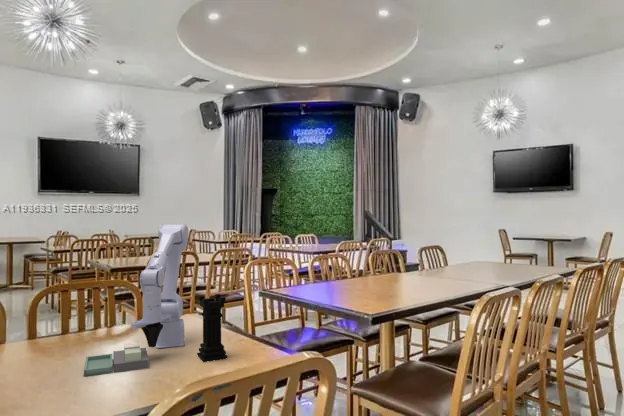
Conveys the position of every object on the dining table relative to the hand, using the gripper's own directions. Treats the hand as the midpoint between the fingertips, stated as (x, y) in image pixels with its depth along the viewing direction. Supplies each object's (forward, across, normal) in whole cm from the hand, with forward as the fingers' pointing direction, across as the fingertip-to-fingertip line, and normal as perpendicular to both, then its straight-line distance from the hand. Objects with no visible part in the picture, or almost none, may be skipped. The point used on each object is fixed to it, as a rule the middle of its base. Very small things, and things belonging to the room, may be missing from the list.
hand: (152, 346), depth 151 cm
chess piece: (+4, -11, +16) cm, 20 cm away
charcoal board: (+4, +7, -2) cm, 8 cm away
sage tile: (+1, +9, +2) cm, 9 cm away
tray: (+4, +15, -7) cm, 17 cm away
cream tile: (+1, +5, -4) cm, 6 cm away
